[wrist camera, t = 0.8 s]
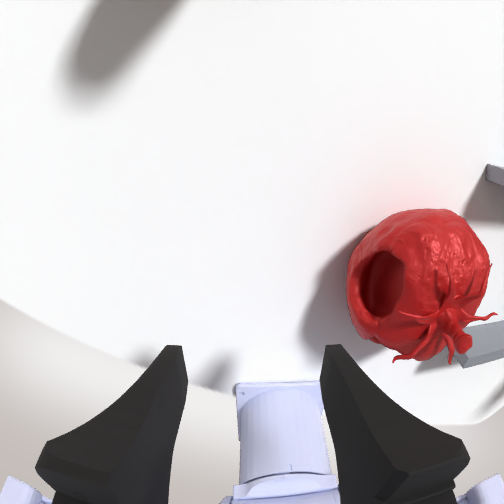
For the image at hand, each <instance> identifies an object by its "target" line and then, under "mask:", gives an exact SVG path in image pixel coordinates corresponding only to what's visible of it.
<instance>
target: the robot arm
mask: <svg viewBox="0 0 504 504" xmlns="http://www.w3.org/2000/svg"><path fill="white" fill-rule="evenodd" d="M187 386H188V377H187V372H186V367H185V362H184V356H183V351H182V346H177V345H167V346H165V348H164V349H163V350H162V351H161V353H160V354H159V355H158V356H157V358H156V359H155V360H154V361H153V363H152V364H151V365H150V366H149V367H148V369H147V370H146V371H145V372H144V373H143V374H142V375H141V377H140V378H139V379H138V380H137V381H136V382H135V383H134V384H133V385H132V386H131V387H130V388H129V389H128V390H127V391H126V392H125V393H124V394H123V395H122V396H121V397H120V398H119V399H118V400H116V401H115V402H114V403H113V404H112V405H110V406H109V407H108V408H107V409H105V410H104V411H103V412H101V413H100V414H98V415H97V416H96V417H94V418H93V419H91V420H90V421H88V422H86V423H85V424H83V425H81V426H80V427H78V428H76V429H74V430H72V431H70V432H68V433H66V434H64V435H61V436H59V437H57V438H55V439H52V440H50V441H47V442H46V444H45V446H44V448H43V450H42V452H41V455H40V457H39V459H38V461H37V464H36V466H35V469H36V471H37V473H38V474H39V476H40V477H41V478H42V479H43V480H44V481H45V482H47V483H48V484H49V485H50V486H51V487H52V488H53V489H54V490H55V491H56V493H55V495H54V498H53V500H52V499H49V498H47V497H45V496H42V495H41V494H40V492H38V491H37V490H36V489H35V488H33V487H32V486H30V485H28V484H26V483H24V482H22V481H20V480H18V479H16V478H14V477H12V476H8V478H7V480H6V482H5V484H4V487H3V489H2V491H1V494H0V504H168V496H169V482H170V472H171V464H172V456H173V455H172V454H173V450H174V449H173V448H174V445H175V440H176V436H177V433H178V429H179V424H180V421H181V417H182V413H183V409H184V405H185V401H186V394H187ZM236 403H237V418H238V434H239V441H240V442H241V443H240V479H239V485H234V486H233V496H226V497H225V498H224V499H223V500H222V501H221V502H220V503H219V504H504V483H503V480H502V478H501V476H500V474H499V473H498V474H495V475H493V476H492V477H490V478H488V479H486V480H484V481H482V482H480V483H478V484H476V485H475V486H473V487H472V488H471V489H470V490H469V491H467V493H466V494H464V495H462V496H459V497H457V498H455V495H454V492H453V490H452V489H454V488H455V483H454V480H453V479H454V478H455V477H456V476H457V475H459V473H461V471H462V470H463V469H464V468H465V467H466V466H467V465H468V463H469V461H470V456H469V454H468V452H467V450H466V447H465V445H464V444H463V442H462V440H461V439H459V438H457V437H454V436H452V435H449V434H447V433H444V432H442V431H440V430H438V429H436V428H434V427H432V426H430V425H428V424H426V423H425V422H423V421H421V420H420V419H418V418H417V417H415V416H413V415H412V414H410V413H409V412H407V411H406V410H405V409H403V408H402V407H401V406H399V405H398V404H397V403H396V402H394V401H393V400H392V399H391V398H389V397H388V396H387V395H386V394H385V393H384V392H383V391H382V390H381V389H380V388H379V387H378V386H377V385H376V384H375V383H374V382H373V381H372V380H371V379H370V378H369V377H368V376H367V375H366V374H365V373H364V372H363V370H362V369H361V368H360V367H359V366H358V365H357V363H356V362H355V361H354V360H353V359H352V357H351V356H350V355H349V354H348V353H347V351H346V350H345V349H344V348H343V346H342V345H341V344H338V345H326V348H325V354H324V359H323V364H322V370H321V375H320V381H312V382H292V383H240V384H237V385H236ZM323 408H324V409H325V413H326V417H327V421H328V424H329V428H330V432H331V436H332V439H333V443H334V448H335V453H336V460H337V469H338V478H339V484H338V486H337V480H336V475H335V474H332V472H331V467H330V461H329V456H328V450H327V445H326V440H325V435H324V429H323V424H322V419H321V415H322V412H323Z"/></svg>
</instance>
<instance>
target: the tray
mask: <svg viewBox="0 0 504 504" xmlns="http://www.w3.org/2000/svg"><path fill="white" fill-rule="evenodd" d="M486 180H489V181H491V182H494V183H497V184H499V185H502V186H504V168H503V167H499V166H494V165H490V164H487V172H486ZM463 331H464V332H465V333H466V334H469V335H471V336H472V341H473V344H472V347H471V348H470V349H469V350H468V351H467V352H466V353H464V354H459V353H458V352H457V351H456V350H455V352H454V356H455V357H456V359H457V360H458V362H459V363H460V365H461V366H462V368H463V369H464V368H468V367H472V366H476V365H479V364H483V363H487V362H490V361H494V360H497V359H501V358H504V321H499V322H494V323H489V324H483V325H478V326H472V327H466V328H464V329H463Z"/></svg>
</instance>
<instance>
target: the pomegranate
mask: <svg viewBox="0 0 504 504" xmlns="http://www.w3.org/2000/svg"><path fill="white" fill-rule="evenodd" d="M491 266H492V263H491V265H490V260H489V255H488V253H487V250H486V248H485V247H484V245H483V244H482V243H481V241H480V240H479V238H478V237H477V235H476V234H475V232H474V231H473V230H472V229H471V228H470V226H469V225H468V223H467V222H466V221H465V219H464V218H462V217H460V216H458V215H457V214H456V213H454V212H452V211H450V210H447V209H414V210H407V211H403V212H399V213H396V214H393V215H391V216H389V217H387V218H386V219H384V220H383V221H382V222H380V223H379V224H378V225H377V226H376V227H375V228H374V229H372V230H371V231H370V232H369V233H367V234H366V236H365V237H364V238H363V239H362V241H361V242H360V243H359V244H358V245H357V246H356V248H355V249H354V251H353V253H352V255H351V258H350V260H349V263H348V270H347V278H346V294H347V303H348V308H349V311H350V316H351V320H352V323H353V325H354V326H355V328H356V330H357V332H358V333H359V335H360V336H361V337H362V338H363V339H370V340H371V341H373V342H375V343H377V344H378V343H379V344H382V345H384V346H385V347H387V348H389V349H393V350H396V351H398V352H399V353H401V354H402V355H397V356H395V357H394V359H393V361H392V363H394V361H396V360H399V359H403V360H405V359H406V360H407V359H408V360H409V359H412V358H413V359H415V360H417V361H425V360H428V359H430V358H432V357H433V356H435V355H436V354H438V353H439V352H441V351H442V349H443V348H444V347H445V346H446V345H447V347H448V350H449V353H448V362H449V364H451V360H452V357H453V355H454V352H455V350H456V351H457V352H458V353H459V354H464V353H466V352H467V351H468V350H469V349H470V348H471V347H472V344H473V341H472V336H471V335H469V334H466V333H465V332H464V331H463V329H464V328H465V327H466V326H467V325H468V324H469V323H470V322H473V321H477V320H483V321H486V320H488V319H489V318H490V317H491V316H493V315H498V314H497V313H495V312H493V313H490V314H489V315H487V316H485V317H479V316H474V315H475V313H476V310H477V308H478V307H479V305H480V303H481V300H482V299H483V297H484V295H485V292H486V288H487V283H488V276H489V272H490V268H491Z"/></svg>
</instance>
